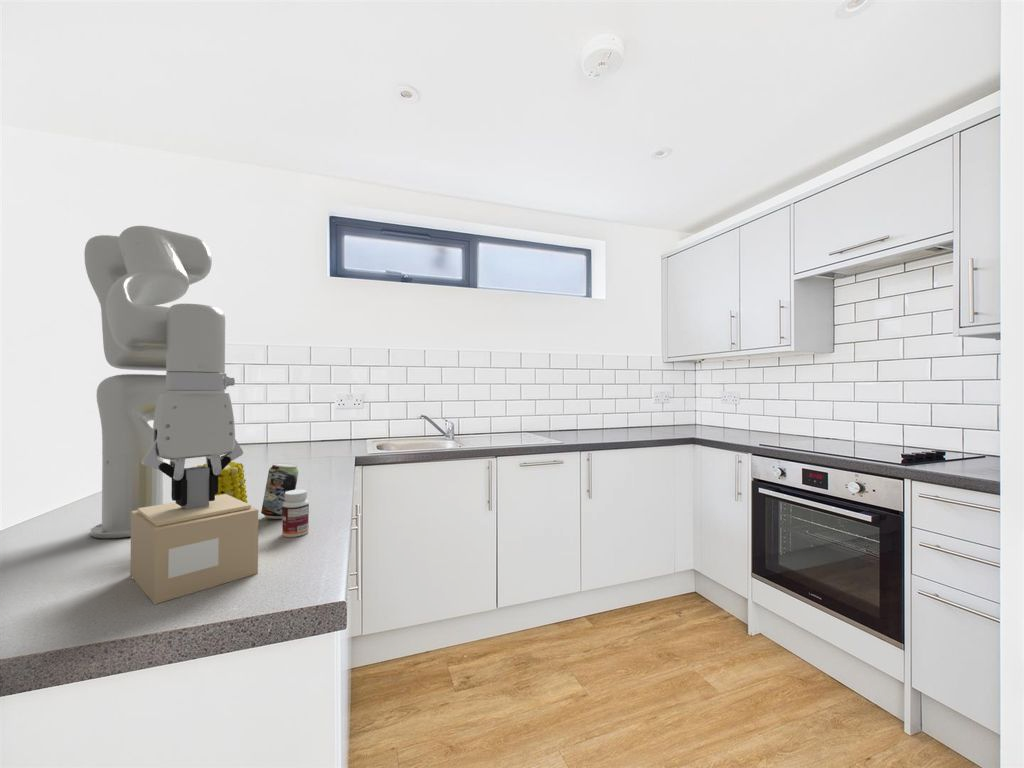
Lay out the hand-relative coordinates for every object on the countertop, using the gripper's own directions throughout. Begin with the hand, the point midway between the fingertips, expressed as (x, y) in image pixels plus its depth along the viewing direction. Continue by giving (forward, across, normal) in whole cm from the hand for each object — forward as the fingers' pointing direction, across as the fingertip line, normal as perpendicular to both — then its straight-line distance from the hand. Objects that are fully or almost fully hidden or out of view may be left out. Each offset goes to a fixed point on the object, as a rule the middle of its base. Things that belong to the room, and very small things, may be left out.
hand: (195, 500), depth 70 cm
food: (+12, -9, -18) cm, 24 cm away
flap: (+1, 0, 0) cm, 1 cm away
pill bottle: (+12, -19, -7) cm, 23 cm away
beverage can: (+12, -22, -21) cm, 33 cm away
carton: (+12, 0, 0) cm, 12 cm away
